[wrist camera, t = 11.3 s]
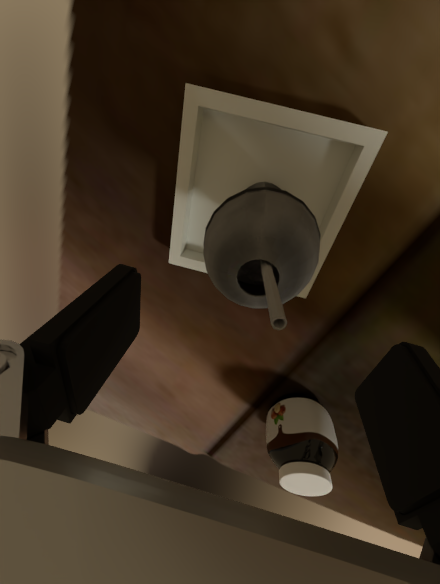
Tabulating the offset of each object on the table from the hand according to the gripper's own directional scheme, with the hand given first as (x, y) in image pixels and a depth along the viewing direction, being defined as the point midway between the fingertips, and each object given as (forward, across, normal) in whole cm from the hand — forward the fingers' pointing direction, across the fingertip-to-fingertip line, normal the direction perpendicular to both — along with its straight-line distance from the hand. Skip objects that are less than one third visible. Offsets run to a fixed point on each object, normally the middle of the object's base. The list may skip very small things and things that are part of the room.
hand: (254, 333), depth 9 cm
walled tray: (+20, +1, 0) cm, 20 cm away
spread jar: (+21, -16, +33) cm, 42 cm away
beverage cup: (+19, 0, 0) cm, 19 cm away
